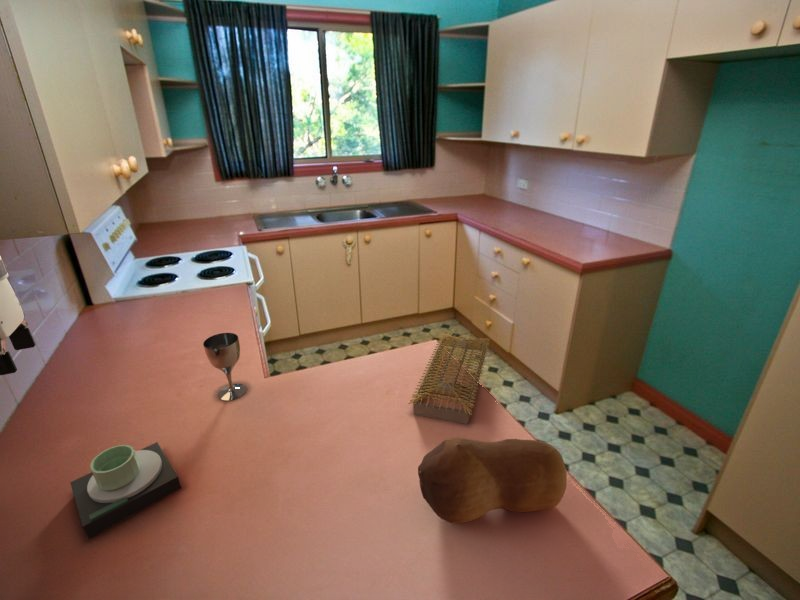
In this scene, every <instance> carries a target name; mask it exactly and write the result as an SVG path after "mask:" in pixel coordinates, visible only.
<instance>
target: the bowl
mask: <svg viewBox="0 0 800 600" xmlns="http://www.w3.org/2000/svg"><path fill="white" fill-rule="evenodd" d="M135 451H136V450H135V449H134V447H133V445H129V444H119V445H115V446H111V447H109V448H106V449H105V450H103V451H101V452H100V453H98V454H97V455H95V457H94V458H93V459H92V460H91V462H90V465H89V470H90V471H91V472H92V474H93V476H94V478H95V481H96V483H97V485H98V487H99V488H100V489H103V490H113V489H116V488H120V487H122V486H124V485H126V484H128V483H129V482H130V481H132V480H133V479H134V478H135V477H136V476H137V474H138V473H139V471H140V464H139V461H138V459H137V456H136V453H135Z"/></svg>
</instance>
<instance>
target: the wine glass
mask: <svg viewBox="0 0 800 600" xmlns="http://www.w3.org/2000/svg"><path fill="white" fill-rule="evenodd" d="M202 345H203V346H202V347H203V350H204V353H205V356H206V358H207V360H208V362H209V363H210V365H211V366H212V367H214V368H215V369H217V370H219V371H221V372H222V373H224V375H225V377H226V379H227V381H228V385H225V386H224V387H222V388H221V389H220V390H219V391H218V392H217V398H218V399H219V400H221V401H226V402H227V401H233V400H237V399H239V398H241V397H243V396H244V395H246V393H247V391H248V387H247V386H246V385H245V384H243V383H233V379H232V371H233V369H234V367H235V366H236V364H237V363H238V362H239V360H240V356H241V345H240V338H239V335H237V334H236V333H233V332H221V333H217V334H214V335H211V336H209V337H207V338H206V339H205V340H204V341H203V344H202Z"/></svg>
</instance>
